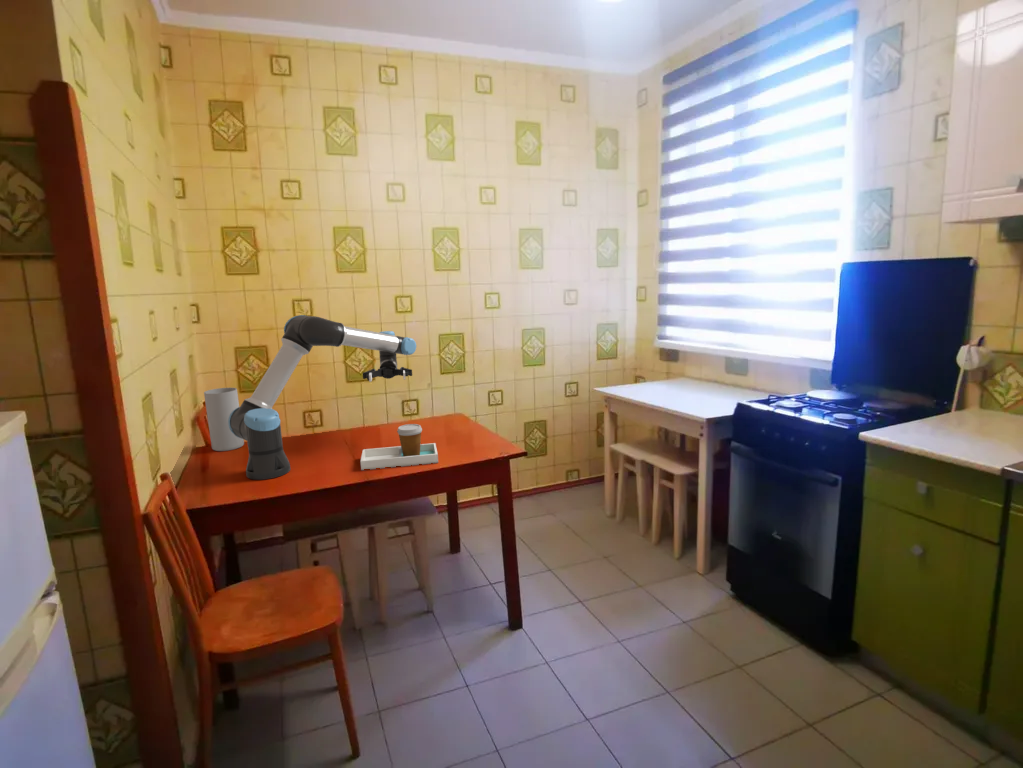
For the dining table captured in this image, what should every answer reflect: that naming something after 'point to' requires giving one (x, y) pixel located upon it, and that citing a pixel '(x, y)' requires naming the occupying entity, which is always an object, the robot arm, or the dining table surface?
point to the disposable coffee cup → (410, 439)
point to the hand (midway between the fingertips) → (387, 377)
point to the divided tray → (397, 457)
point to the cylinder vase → (222, 418)
